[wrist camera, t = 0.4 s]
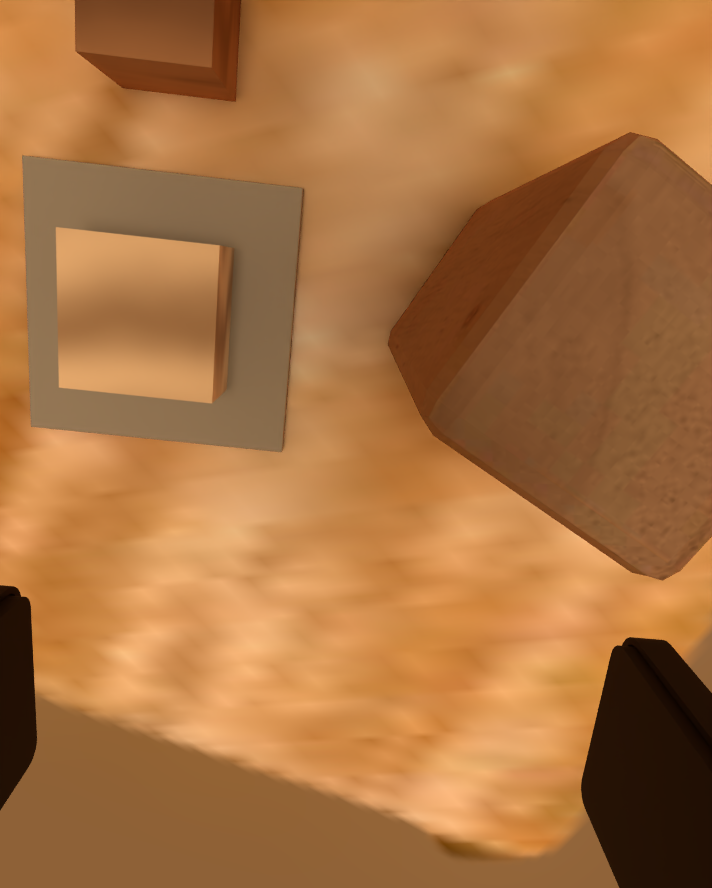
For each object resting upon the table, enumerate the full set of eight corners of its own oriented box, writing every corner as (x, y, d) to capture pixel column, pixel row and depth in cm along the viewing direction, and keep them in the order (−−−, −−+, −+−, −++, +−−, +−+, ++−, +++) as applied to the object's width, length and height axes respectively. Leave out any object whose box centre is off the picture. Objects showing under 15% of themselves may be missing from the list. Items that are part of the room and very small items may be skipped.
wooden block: (380, 343, 37) (409, 424, 18) (484, 195, 35) (646, 105, 16) (512, 437, 39) (669, 604, 19) (620, 301, 37) (917, 337, 17)
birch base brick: (88, 231, 35) (55, 227, 31) (234, 248, 35) (219, 245, 31) (89, 375, 37) (58, 387, 33) (226, 389, 37) (212, 403, 33)
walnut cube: (124, -43, 32) (73, -112, 26) (242, -28, 32) (218, -93, 26) (123, 88, 34) (75, 51, 28) (236, 101, 34) (211, 67, 28)
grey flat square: (29, 158, 34) (22, 155, 34) (303, 189, 35) (302, 187, 34) (37, 423, 38) (30, 426, 38) (282, 448, 39) (281, 452, 38)
